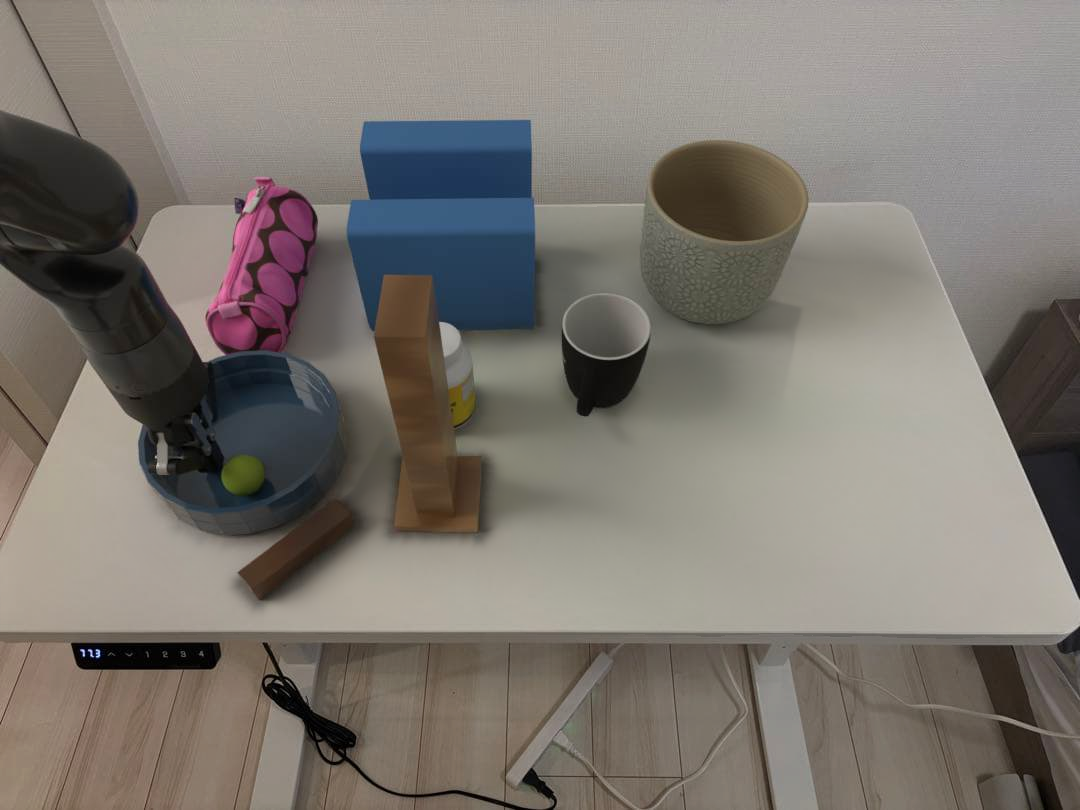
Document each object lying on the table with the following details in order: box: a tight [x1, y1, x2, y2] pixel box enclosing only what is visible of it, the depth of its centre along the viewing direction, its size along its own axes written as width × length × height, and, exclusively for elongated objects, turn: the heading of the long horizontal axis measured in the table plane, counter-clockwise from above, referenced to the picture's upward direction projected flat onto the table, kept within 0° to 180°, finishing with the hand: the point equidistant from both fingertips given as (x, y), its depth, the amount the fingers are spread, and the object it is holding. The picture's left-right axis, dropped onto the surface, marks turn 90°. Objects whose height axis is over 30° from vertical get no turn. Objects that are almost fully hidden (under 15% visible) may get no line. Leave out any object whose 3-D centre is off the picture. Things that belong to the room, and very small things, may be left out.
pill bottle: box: [439, 322, 477, 431], centre depth 81 cm, size 6×6×12 cm
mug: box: [560, 292, 652, 418], centre depth 83 cm, size 12×9×10 cm
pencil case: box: [204, 176, 319, 356], centre depth 91 cm, size 21×10×10 cm, turn 2°
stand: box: [373, 275, 483, 533], centre depth 68 cm, size 8×8×28 cm
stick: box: [237, 497, 356, 601], centre depth 75 cm, size 11×2×2 cm, turn 135°
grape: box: [222, 455, 265, 496], centre depth 78 cm, size 4×4×4 cm
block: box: [346, 119, 536, 332], centre depth 88 cm, size 18×18×18 cm
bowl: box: [137, 350, 349, 536], centre depth 80 cm, size 19×19×5 cm
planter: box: [639, 139, 809, 325], centre depth 90 cm, size 17×17×15 cm
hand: (213, 465), depth 80 cm, fingers closed
